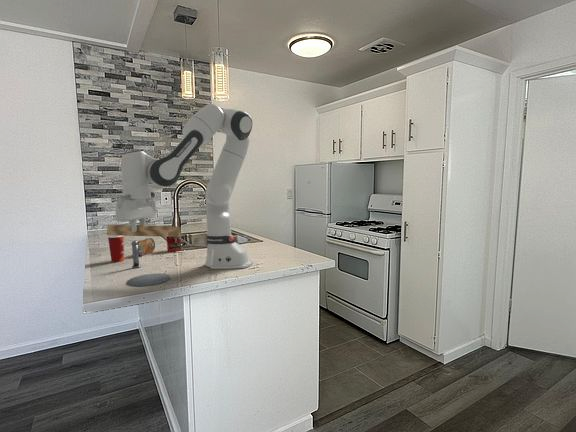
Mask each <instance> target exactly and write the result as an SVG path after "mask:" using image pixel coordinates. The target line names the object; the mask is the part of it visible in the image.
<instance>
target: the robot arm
mask: <svg viewBox="0 0 576 432" xmlns="http://www.w3.org/2000/svg"><path fill="white" fill-rule="evenodd" d="M252 129H253V118H252V117H251V115H250V114H249V113H248V112H245V111H243V110H238V109H235V108H220V107H219V106H218V105H216V104H214V103H208V104H207V105H205V106H203V107H202V108H200V109H199V110H197V111H196V113H194V114H193V115H192V116H191V117H190V118H189V119H188V121H187V122H186V123H185V125H184V126H183V128H182V132H181V133H182V139H181V140H180V142H179V143H178V144H177V145H175V148H173V150H172V151H171V152H170V153H169V154H168V155H166V156H164V157H162V158H155V157H153V156H151V155H149V154H148V153H146V152H145V151H143V150H131V151H128V152H125V153H123V155H122V157H121V161H120V172H121V174H120V175H121V178H122V186H121V189H122V194H121V195H120V196H119V197H118V198H117V200H116V203H115V220H116V221H117V223H119V222H120V223H121V222H122V223H123V222H125V223H126V222H128V225H130V226H131V227H132V232H137V231H138V227H137V226H136V225H137V224H136V223H137V220H138V221H139V223H138V225H146V222H147V220H146V219H147V218H152V217H155V216H156V214H157V201H156V198H157V194H156V192H155V191H152V190H151V189H150V188H149V184H151V185H152V184H153V185H155V186H159V187H171V186H173V185H175V184H176V183H177V182H178V180H179V179H180V175H181V173H182V170H183V167H184V166H185V164H186V163H187V162H188V161H189V160H190V158H191V157H192V156H193V155H194V154H195V153H196V152H197V150H199V149H200V148H202V147H203V146H204V145H205V144H207V143H208V142H209V141H210V140H211V139H212V138H213V137H214V135H215V134H217V133H221V134H224V135H225V136H226V137H225V143H224V145H223V146H222V150H221V152H220V154H219V156H218V159H217V162H216V164H215V165H214V166H215V167H214V169H213V171H212V174H211V177H210V179H209V181H208V183H207V186H206V188H205V192H204V193H205V212H206V213H205V215H206V238H205V240H206V248H207V249H206V257H205V262H204V265H205V267H208V268H210V269H211V270H226V269H227V270H229V269H231V270H232V269H246V268H249V267H250V266H252V265H253V263H254V260H253V259H252V258H249V254H248V253H249V252H248V251H247V249H246V248H244V247H243V246H242V245H240V244H239V243H238V242H236V238H237V235H233V234H232V222H231V221H232V220H231V208H230V199H231V196H232V194H233V191H234V189H235V185H236V182H237V181H238V177H239V174H240V171H241V168H242V166H243V164H244V161H245V158H246V156H247V154H248V150H249V144H250V138H249V136H251V135H250V134H251V132H252V131H253V130H252Z"/></svg>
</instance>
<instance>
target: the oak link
mask: <svg viewBox="0 0 576 432" xmlns="http://www.w3.org/2000/svg"><path fill="white" fill-rule="evenodd" d="M136 226H137V227H138V231H137V232H132V227H131V226H130V224H107V228H106V229H107V230H106V236H108V235H115V236H124V237H125V236H126V237H160V238H161V237H162V238H163V237H166V238H167V237H181V238H182V226H174V225H155V224H154V225H149V224H148V225H146V224H145V225H139V224H136Z"/></svg>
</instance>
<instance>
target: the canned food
mask: <svg viewBox="0 0 576 432" xmlns="http://www.w3.org/2000/svg"><path fill="white" fill-rule="evenodd" d="M166 248H167V252H170V253H175V251H177V252H180V250H181V251H182V236H181V237H166Z"/></svg>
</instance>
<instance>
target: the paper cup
mask: <svg viewBox="0 0 576 432" xmlns="http://www.w3.org/2000/svg"><path fill="white" fill-rule="evenodd" d="M106 236H107V239H108V240H107V241H108V246H109V254H110V260H111V261H110V262H111V263H121V262H124V261H125V236H115V235H106Z"/></svg>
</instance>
